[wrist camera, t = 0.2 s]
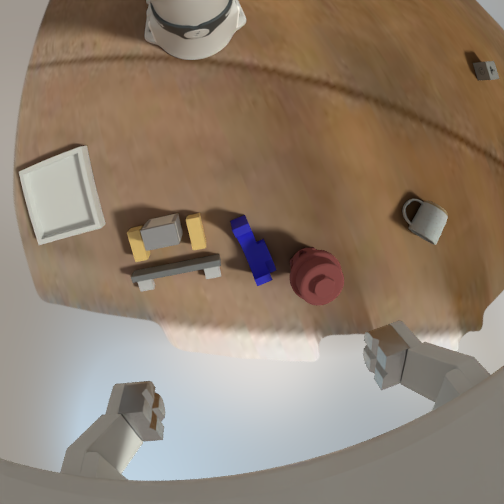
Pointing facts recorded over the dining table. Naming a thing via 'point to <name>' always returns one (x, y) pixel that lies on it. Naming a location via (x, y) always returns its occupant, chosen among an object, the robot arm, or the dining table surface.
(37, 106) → the dining table surface
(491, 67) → the dice cube
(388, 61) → the dining table surface
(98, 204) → the parts tray
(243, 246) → the cable clip
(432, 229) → the ceramic mug
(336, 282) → the mechanical component
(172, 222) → the grey rectangular box
